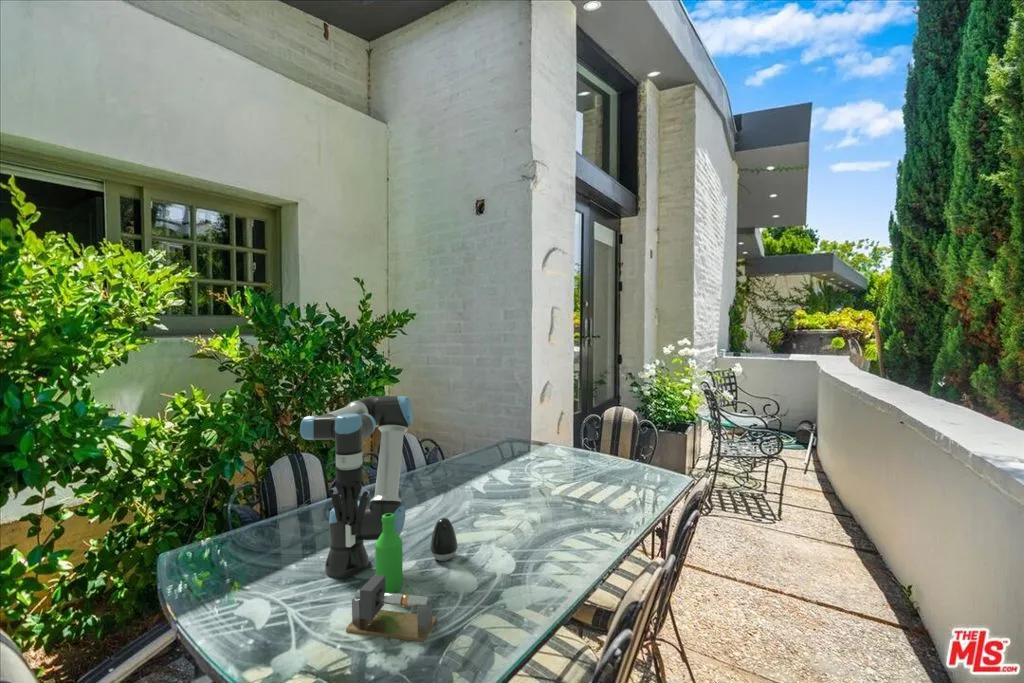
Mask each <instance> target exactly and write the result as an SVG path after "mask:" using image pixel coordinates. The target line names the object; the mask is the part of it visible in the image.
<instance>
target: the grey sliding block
mask: <svg viewBox="0 0 1024 683" xmlns="http://www.w3.org/2000/svg"><path fill="white" fill-rule="evenodd" d="M359 589H360V619H367V620H372V619H373V618H374V617H375V616H376V614H377V613H378V612H379V611H380V610H382V609H383V607H384V606H385V605H386V604H381V603H375V594H376V593H377V592H378V591H380V592H386V588H385V576H383V575H376V574H374V575H372V577H370V579H369V580H368V581H367V582H366V583H365V584H364V585H363V586H362V587H361V588H359Z"/></svg>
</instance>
